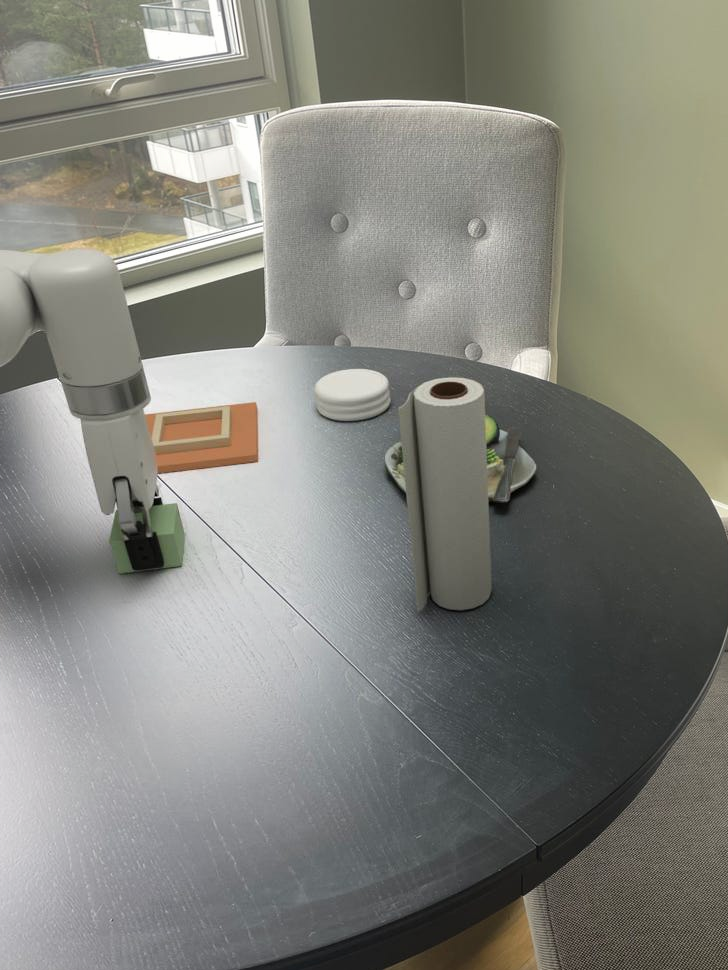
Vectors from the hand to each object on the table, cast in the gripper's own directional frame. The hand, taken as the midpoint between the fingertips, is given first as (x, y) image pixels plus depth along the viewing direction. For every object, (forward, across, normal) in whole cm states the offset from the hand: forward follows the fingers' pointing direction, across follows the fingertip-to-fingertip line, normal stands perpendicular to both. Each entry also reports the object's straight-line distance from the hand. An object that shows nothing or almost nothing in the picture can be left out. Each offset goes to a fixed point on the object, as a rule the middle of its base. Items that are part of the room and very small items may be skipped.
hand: (151, 548), depth 103 cm
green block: (+1, 0, 0) cm, 1 cm away
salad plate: (+1, -10, +35) cm, 37 cm away
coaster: (+1, -32, +24) cm, 40 cm away
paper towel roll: (+1, +15, +30) cm, 34 cm away
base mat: (+1, -27, +3) cm, 27 cm away
